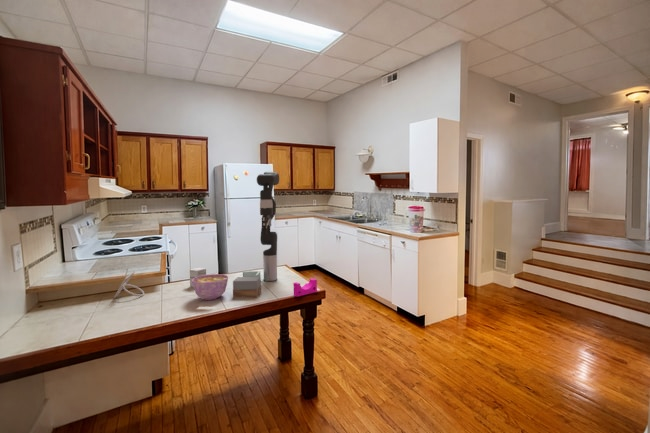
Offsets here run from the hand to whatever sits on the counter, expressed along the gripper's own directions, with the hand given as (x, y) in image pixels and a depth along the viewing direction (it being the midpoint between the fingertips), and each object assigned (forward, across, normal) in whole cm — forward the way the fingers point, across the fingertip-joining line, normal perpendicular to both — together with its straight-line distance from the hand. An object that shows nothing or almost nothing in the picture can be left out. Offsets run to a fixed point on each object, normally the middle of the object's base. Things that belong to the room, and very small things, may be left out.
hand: (266, 233), depth 186 cm
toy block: (+36, 0, +22) cm, 43 cm away
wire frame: (+39, +11, -83) cm, 93 cm away
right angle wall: (+36, -19, -17) cm, 44 cm away
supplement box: (+36, -9, -48) cm, 61 cm away
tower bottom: (+36, +5, -11) cm, 39 cm away
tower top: (+32, +5, -11) cm, 34 cm away
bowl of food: (+36, +11, -31) cm, 49 cm away
